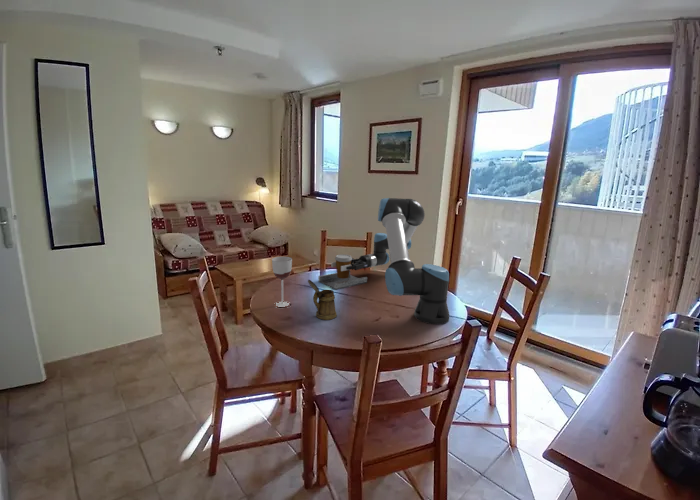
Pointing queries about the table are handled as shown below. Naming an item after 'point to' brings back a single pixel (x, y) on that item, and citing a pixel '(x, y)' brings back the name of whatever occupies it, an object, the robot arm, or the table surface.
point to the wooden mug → (324, 303)
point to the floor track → (340, 281)
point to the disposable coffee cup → (342, 261)
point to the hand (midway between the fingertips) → (336, 266)
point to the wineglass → (282, 273)
